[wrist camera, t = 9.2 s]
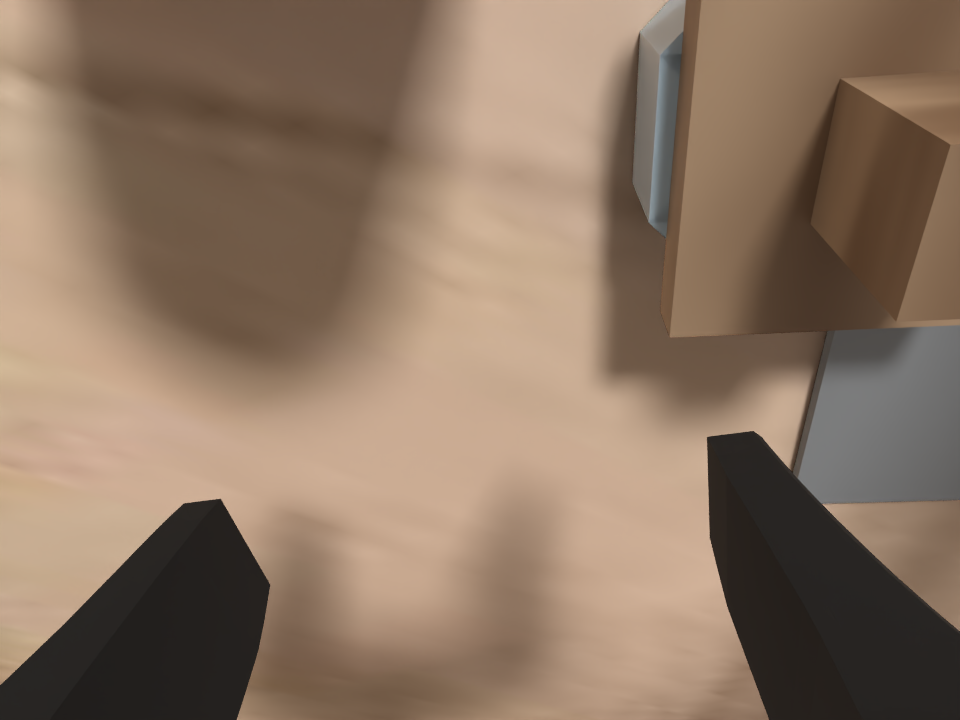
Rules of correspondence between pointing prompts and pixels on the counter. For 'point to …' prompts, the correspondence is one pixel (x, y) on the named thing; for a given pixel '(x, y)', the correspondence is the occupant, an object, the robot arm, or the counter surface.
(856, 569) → the robot arm
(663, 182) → the bowl
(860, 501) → the mat
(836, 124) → the lid
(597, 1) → the counter surface
